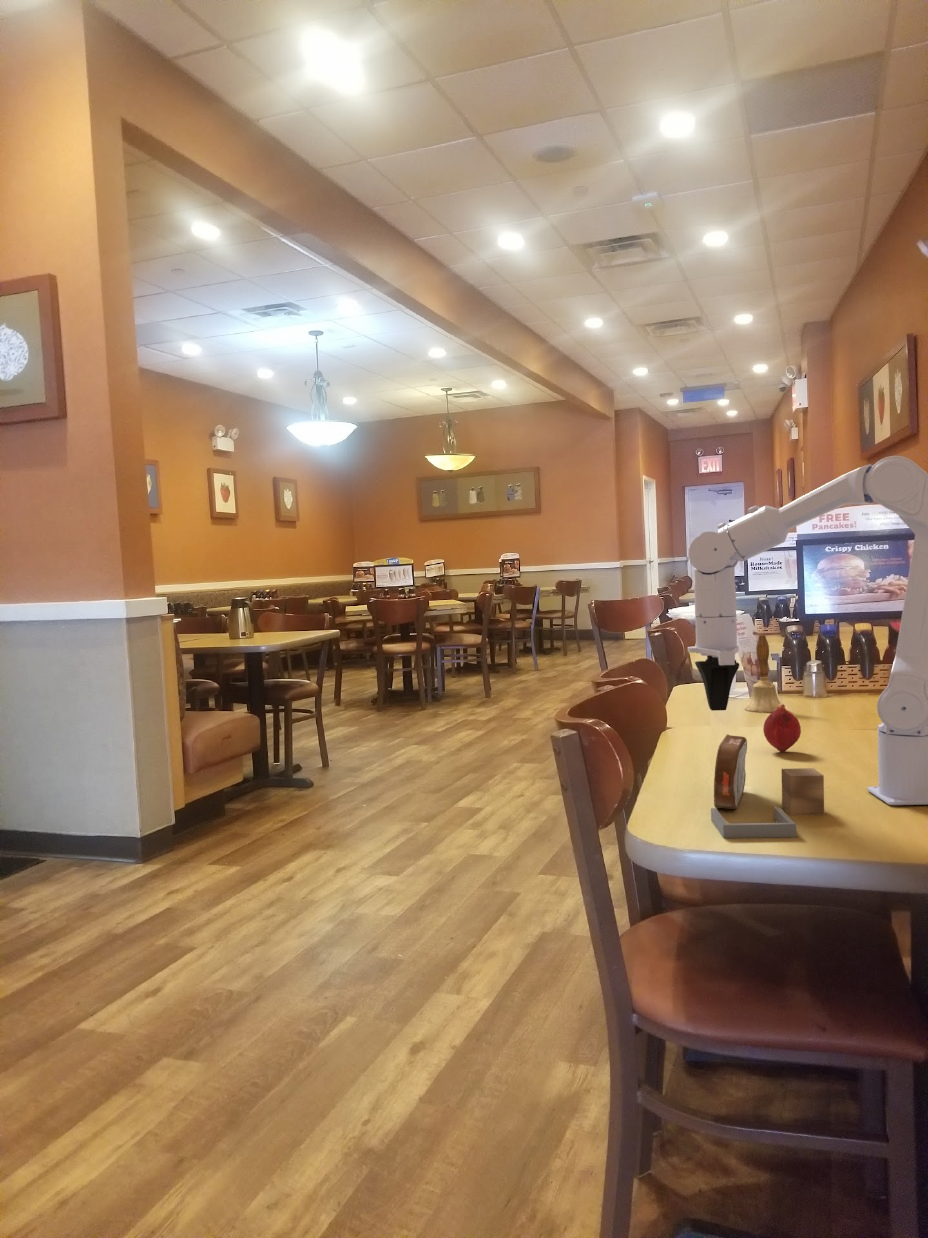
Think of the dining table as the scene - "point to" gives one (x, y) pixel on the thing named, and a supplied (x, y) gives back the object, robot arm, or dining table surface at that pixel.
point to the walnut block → (803, 791)
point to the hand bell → (763, 683)
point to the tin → (730, 772)
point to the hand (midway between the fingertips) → (717, 709)
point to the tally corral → (755, 826)
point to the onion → (782, 729)
